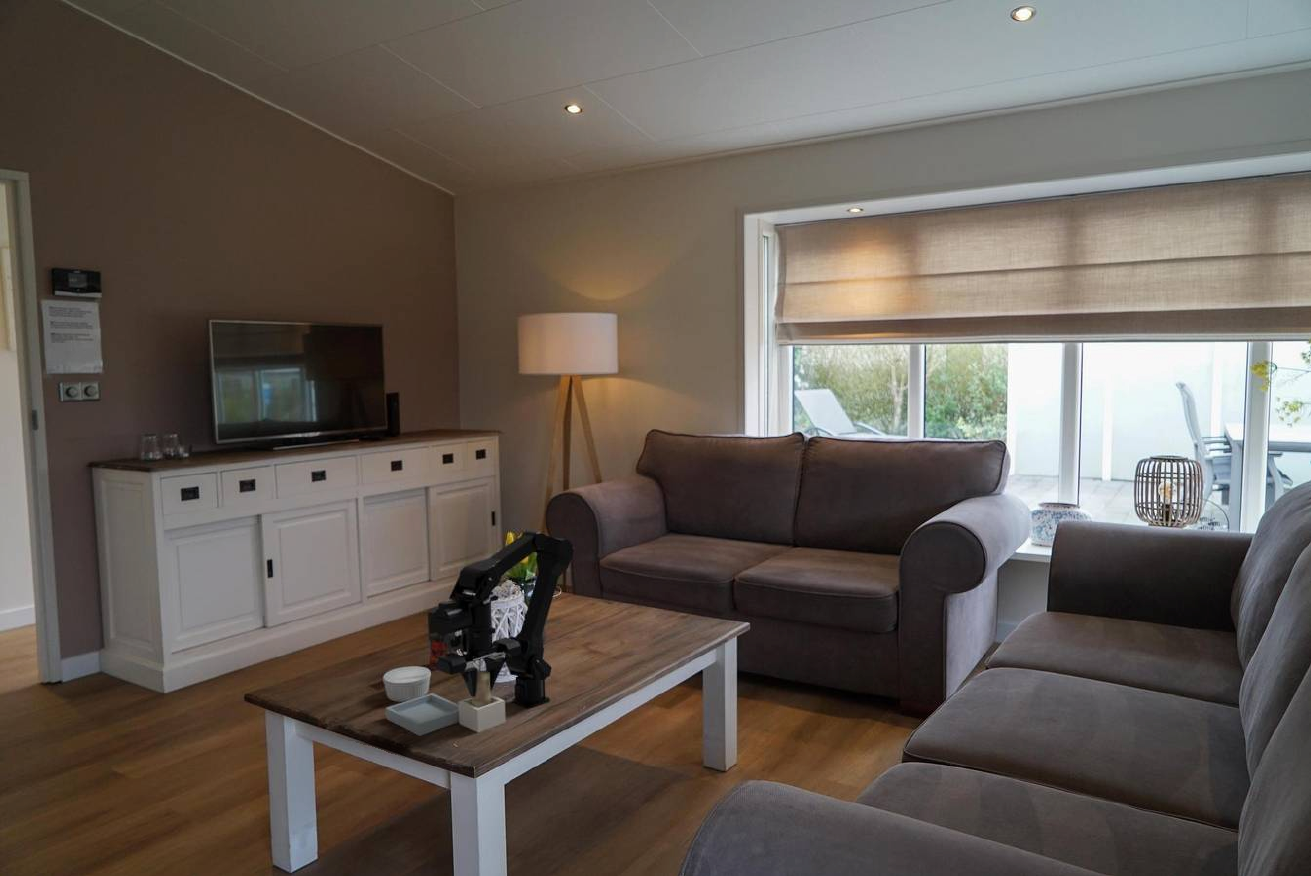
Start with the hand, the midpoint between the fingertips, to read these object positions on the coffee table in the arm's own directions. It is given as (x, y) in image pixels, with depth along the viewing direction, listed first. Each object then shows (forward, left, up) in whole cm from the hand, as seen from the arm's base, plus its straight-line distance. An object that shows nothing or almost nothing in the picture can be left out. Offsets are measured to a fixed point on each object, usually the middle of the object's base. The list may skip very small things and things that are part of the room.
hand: (481, 693), depth 197 cm
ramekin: (+2, -28, -7) cm, 29 cm away
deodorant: (-15, -40, -7) cm, 43 cm away
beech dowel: (0, 0, -6) cm, 6 cm away
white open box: (0, 0, -7) cm, 7 cm away
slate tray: (+7, -11, -7) cm, 15 cm away
